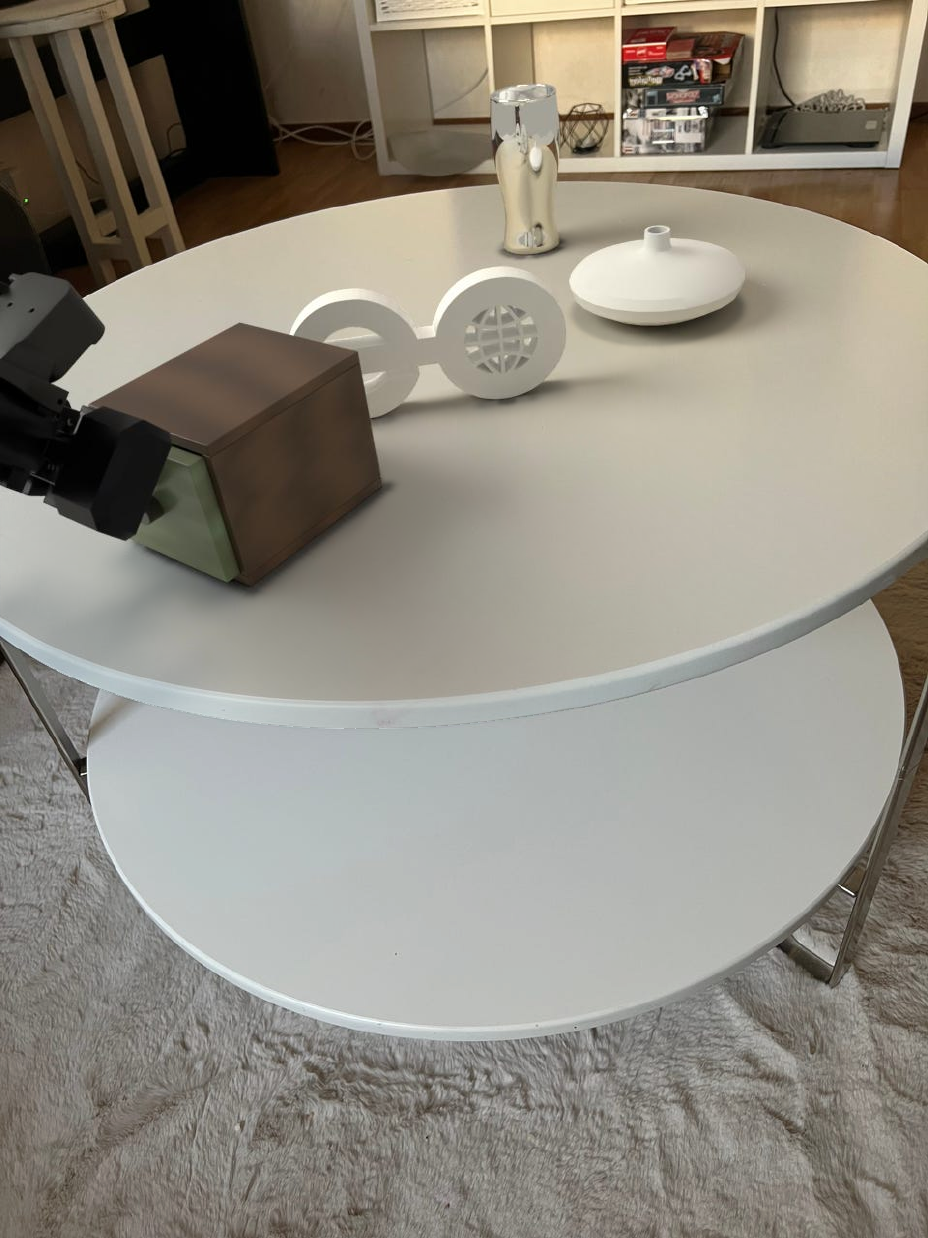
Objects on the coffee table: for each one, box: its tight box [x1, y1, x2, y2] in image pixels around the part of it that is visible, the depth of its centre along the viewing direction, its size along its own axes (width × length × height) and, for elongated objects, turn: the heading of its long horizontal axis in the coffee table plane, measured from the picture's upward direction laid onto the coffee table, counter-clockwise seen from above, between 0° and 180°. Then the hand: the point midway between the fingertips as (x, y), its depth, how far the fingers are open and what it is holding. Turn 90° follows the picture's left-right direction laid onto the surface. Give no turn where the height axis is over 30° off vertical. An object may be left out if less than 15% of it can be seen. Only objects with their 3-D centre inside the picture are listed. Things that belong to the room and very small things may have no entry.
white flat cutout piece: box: [289, 265, 567, 419], centre depth 78 cm, size 22×2×10 cm, turn 97°
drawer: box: [129, 444, 240, 583], centre depth 66 cm, size 14×10×9 cm
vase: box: [568, 225, 746, 326], centre depth 88 cm, size 16×16×7 cm
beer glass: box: [489, 83, 561, 256], centre depth 101 cm, size 7×7×15 cm
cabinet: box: [87, 322, 383, 587], centre depth 68 cm, size 14×12×11 cm
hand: (145, 488), depth 62 cm, fingers closed, pressing on drawer
